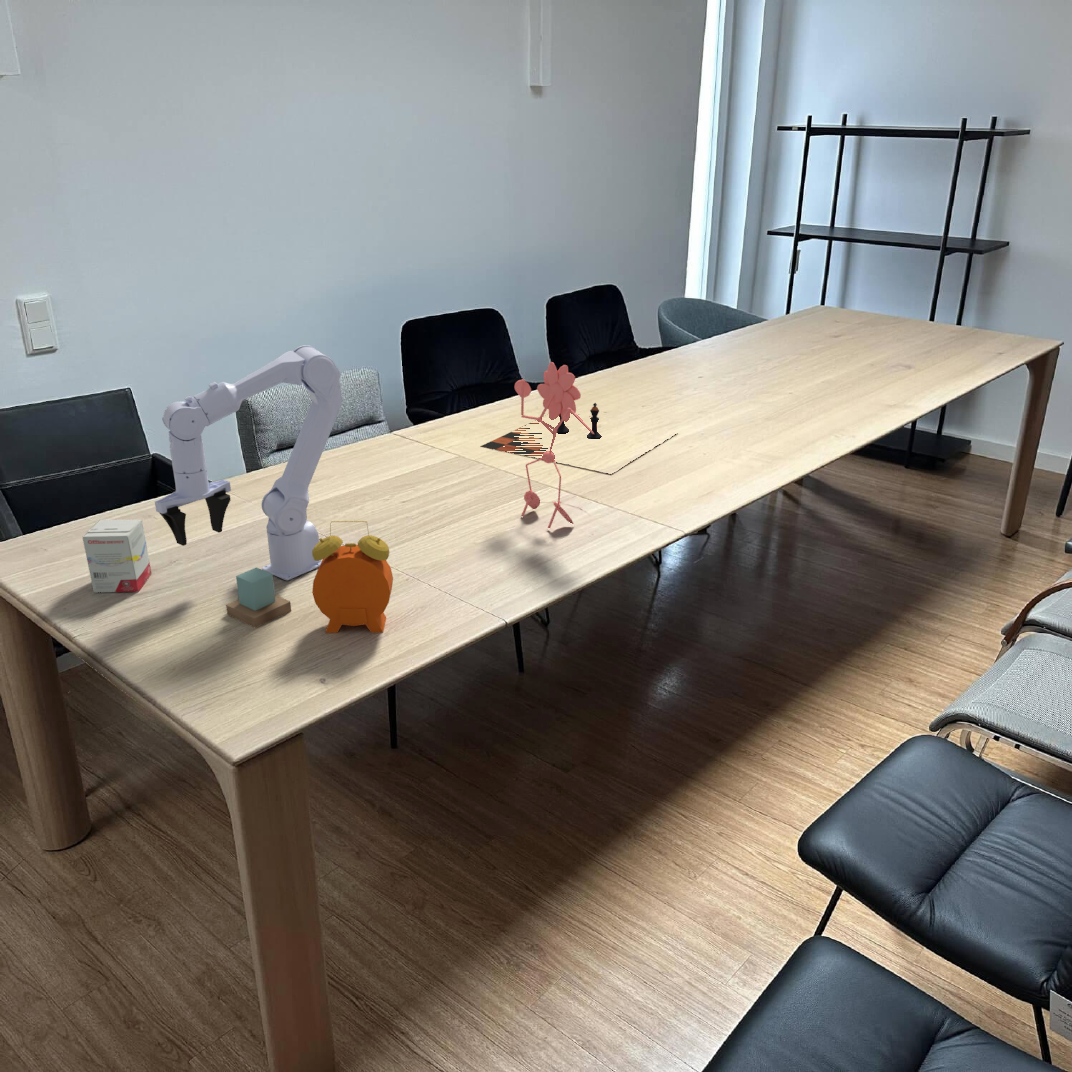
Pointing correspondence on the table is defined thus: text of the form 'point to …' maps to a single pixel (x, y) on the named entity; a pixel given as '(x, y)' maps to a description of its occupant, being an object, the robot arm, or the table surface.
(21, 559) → the table surface
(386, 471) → the table surface
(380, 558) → the alarm clock
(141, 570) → the ink box
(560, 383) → the figurine
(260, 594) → the teal block
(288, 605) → the walnut slab
